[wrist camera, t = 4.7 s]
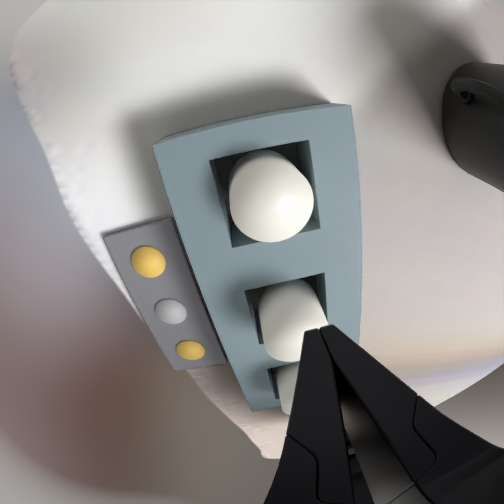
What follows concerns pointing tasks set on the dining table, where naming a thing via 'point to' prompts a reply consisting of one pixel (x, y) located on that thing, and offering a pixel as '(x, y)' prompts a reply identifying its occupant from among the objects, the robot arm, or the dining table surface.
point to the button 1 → (269, 196)
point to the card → (166, 293)
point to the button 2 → (286, 384)
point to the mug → (476, 120)
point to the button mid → (288, 317)
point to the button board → (269, 253)
